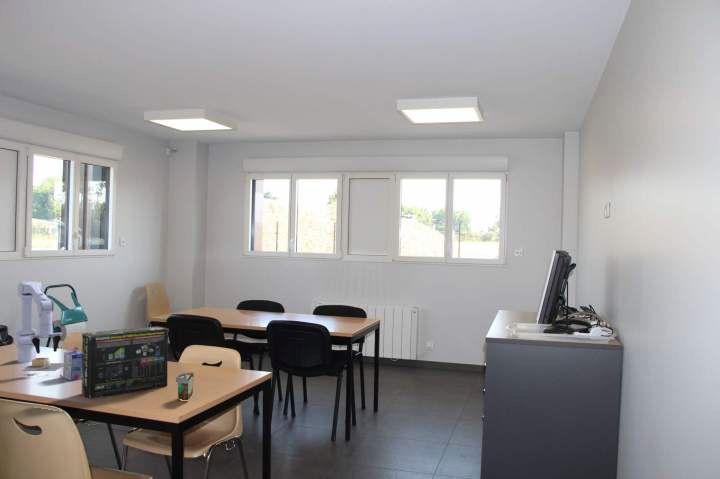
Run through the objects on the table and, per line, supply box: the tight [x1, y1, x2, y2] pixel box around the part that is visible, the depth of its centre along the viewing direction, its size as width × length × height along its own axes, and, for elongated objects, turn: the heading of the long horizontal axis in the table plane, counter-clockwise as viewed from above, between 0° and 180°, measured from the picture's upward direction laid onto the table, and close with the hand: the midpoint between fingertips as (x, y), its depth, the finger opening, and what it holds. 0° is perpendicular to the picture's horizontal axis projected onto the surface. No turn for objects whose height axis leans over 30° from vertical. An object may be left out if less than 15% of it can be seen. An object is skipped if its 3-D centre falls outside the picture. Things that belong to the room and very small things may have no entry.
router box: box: [81, 325, 169, 399], centre depth 257 cm, size 36×11×27 cm, turn 133°
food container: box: [175, 371, 195, 400], centre depth 245 cm, size 12×6×10 cm, turn 5°
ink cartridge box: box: [62, 346, 82, 381], centre depth 276 cm, size 10×6×14 cm, turn 48°
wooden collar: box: [31, 357, 50, 367], centre depth 296 cm, size 6×6×4 cm
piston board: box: [21, 359, 64, 372], centre depth 293 cm, size 18×16×5 cm
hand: (46, 352), depth 283 cm, fingers open, 7 cm apart
